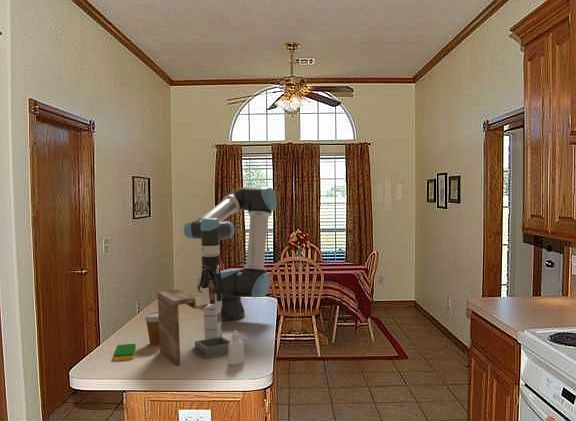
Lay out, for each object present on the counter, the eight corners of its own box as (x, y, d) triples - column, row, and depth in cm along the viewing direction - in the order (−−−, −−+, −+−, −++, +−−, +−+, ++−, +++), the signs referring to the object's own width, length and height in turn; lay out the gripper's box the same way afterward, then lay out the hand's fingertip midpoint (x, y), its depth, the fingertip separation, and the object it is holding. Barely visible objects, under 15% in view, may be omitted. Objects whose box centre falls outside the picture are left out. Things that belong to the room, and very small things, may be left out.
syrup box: (217, 341, 219) (216, 307, 219) (204, 341, 220) (203, 306, 220) (222, 337, 225) (221, 303, 224) (209, 337, 226) (208, 303, 225)
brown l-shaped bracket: (179, 348, 212) (177, 289, 211) (197, 361, 195) (195, 298, 194) (159, 351, 208) (157, 292, 207) (176, 365, 191) (174, 300, 190)
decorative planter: (195, 306, 285) (194, 281, 284) (199, 301, 297) (198, 277, 297) (232, 305, 285) (232, 280, 284) (235, 300, 297) (234, 276, 296)
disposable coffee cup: (173, 340, 223) (172, 312, 222) (161, 347, 214) (160, 317, 213) (154, 339, 226) (153, 311, 225) (141, 345, 217) (140, 316, 216)
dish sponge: (136, 349, 213) (135, 343, 213) (133, 360, 200) (133, 353, 200) (117, 350, 212) (117, 344, 212) (113, 361, 198) (113, 355, 198)
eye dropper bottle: (228, 361, 194) (227, 329, 193) (244, 360, 194) (243, 328, 194) (228, 365, 189) (227, 332, 189) (244, 364, 190) (243, 331, 189)
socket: (222, 344, 216) (222, 335, 215) (236, 352, 204) (236, 343, 204) (192, 349, 209) (192, 341, 209) (204, 358, 198) (204, 349, 198)
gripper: (191, 253, 230) (192, 302, 230) (214, 259, 208) (215, 312, 209) (207, 252, 234) (208, 300, 234) (231, 257, 212) (232, 310, 213)
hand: (211, 306), depth 222 cm, fingers open, 13 cm apart
